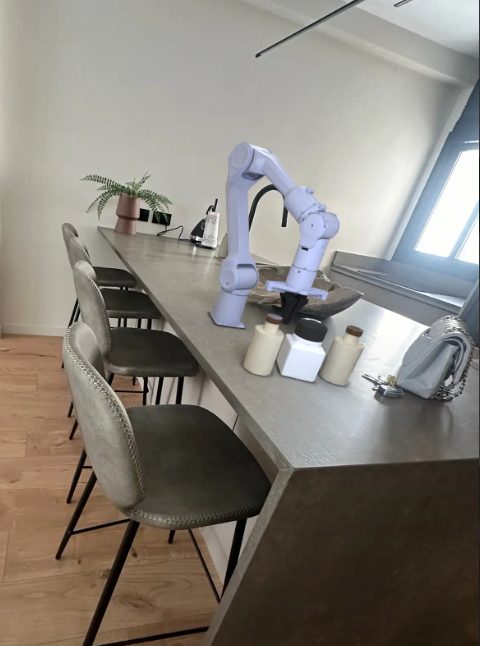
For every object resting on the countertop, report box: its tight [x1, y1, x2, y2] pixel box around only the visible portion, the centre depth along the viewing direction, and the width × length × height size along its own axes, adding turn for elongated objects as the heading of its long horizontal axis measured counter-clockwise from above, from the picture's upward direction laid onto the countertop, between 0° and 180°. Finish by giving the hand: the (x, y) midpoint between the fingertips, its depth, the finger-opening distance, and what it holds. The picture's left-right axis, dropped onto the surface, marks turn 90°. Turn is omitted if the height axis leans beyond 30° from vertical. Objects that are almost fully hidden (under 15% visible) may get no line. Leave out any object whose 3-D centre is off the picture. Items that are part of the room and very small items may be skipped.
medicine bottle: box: [276, 317, 329, 383], centre depth 79 cm, size 7×7×12 cm
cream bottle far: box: [318, 324, 365, 386], centre depth 80 cm, size 6×6×12 cm
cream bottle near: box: [242, 312, 285, 377], centre depth 77 cm, size 6×6×12 cm
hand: (284, 322), depth 89 cm, fingers closed
